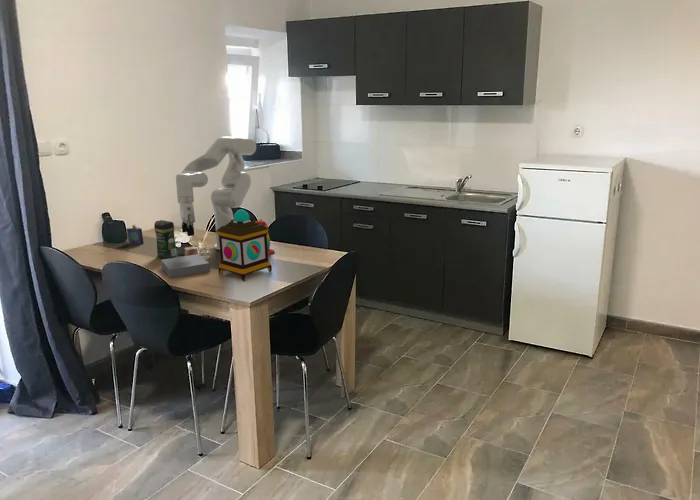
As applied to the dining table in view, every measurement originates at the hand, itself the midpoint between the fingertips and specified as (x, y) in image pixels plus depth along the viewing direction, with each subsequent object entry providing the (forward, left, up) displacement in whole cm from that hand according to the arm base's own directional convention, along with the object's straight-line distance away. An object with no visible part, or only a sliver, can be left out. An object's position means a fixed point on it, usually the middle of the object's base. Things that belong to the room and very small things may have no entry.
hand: (188, 233), depth 285 cm
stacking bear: (-34, +11, -14) cm, 38 cm away
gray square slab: (+6, +15, -13) cm, 21 cm away
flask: (+17, -48, -14) cm, 53 cm away
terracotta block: (-1, 0, -14) cm, 13 cm away
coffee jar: (+8, -13, -14) cm, 21 cm away
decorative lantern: (-16, +36, -14) cm, 41 cm away
